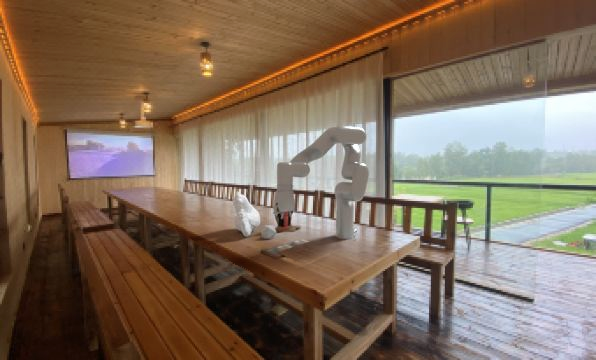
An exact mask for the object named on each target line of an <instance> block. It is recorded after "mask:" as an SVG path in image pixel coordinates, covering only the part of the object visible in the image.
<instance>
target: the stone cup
mask: <svg viewBox="0 0 596 360" xmlns="http://www.w3.org/2000/svg"><path fill="white" fill-rule="evenodd" d="M273 215H274V219H275V221H276V224H277V225H276V227H275V230H276V233H279V232H280V233H284V232H286V233H287V232H288V233H294V232H297V231H299V230H301V228H302V226H298V225H293V224H292V217H293V216H292V217H290V218H291V220H290V226H289V229H286V230H283V229H280V228H279V218H277V216H276V215H275V214H273ZM280 215H281V214H280Z"/></svg>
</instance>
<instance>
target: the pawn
mask: <svg viewBox="0 0 596 360" xmlns="http://www.w3.org/2000/svg"><path fill="white" fill-rule="evenodd" d="M280 214H281V213H280ZM288 214H289V211H287V212H284V214H283V219H284V227H280V226H279V228H280V229H283V230H286V229H289V225H288Z"/></svg>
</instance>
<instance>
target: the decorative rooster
mask: <svg viewBox="0 0 596 360" xmlns="http://www.w3.org/2000/svg"><path fill="white" fill-rule="evenodd" d="M232 204H233V207H234V209H235V214H236V216H235V218H234V222H233V223H234V226H235V228H236V229H237V230H238V231H239V232H241V233H242V234H243V236H244V237H245V238H248V237H250V236H251V235H252V231H254V230H255V229H257V228H258V227H259V226H260V224H261V215H260V213H259V211H258V210H257V209H256V208H255V207H254V206H253V205H251V204H250V201H249V200H248V198H247V196H246V195H244V194H242V193H241V192H239V191H235V194H234V197H233V200H232Z"/></svg>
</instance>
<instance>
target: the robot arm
mask: <svg viewBox="0 0 596 360" xmlns="http://www.w3.org/2000/svg"><path fill="white" fill-rule="evenodd" d="M366 140H367V133H366V130H364V129H363V128H362V127H355V126H347V125H346V126H343V125H342V126H341V125H338V126H332V127H328V128H327V129H326V130H325V131H323V132H322V134H321V135H319V137H317V138H316V139H315V141H313V143H311V144H310V145H308V146H307V147H306V148H304V149H303V150H302V151H300V152H299V153H297V154H296V155H295V156H294V157H293V158H292V159H291V160H290V161H289V162H288V161H287V162H286V161H285V162H283V161H281V162H278V163H277V165H276V191H274V192H275V193H274V198H273V212H272V214H273V215H274V214H275V215H276V216H277V218H279V226H280V227H284V219H283V214H284V212H287V211H289V214H288V225H289V226H290V220H291V221H292V218H290V217H293V216H292V215H293V213H294V212H295V211H296V208H295V194H294V190H293V188H294V179H293V178H306V177H308V176H309V174H310V171H311V168H310V166H309V165H308V164H310V163H311V162H314V161H317V160H319V159H322V158H323V157H325V156H326V154H327V153H328V152H329V151H330V150H331V149H332V148H333V147H334V146H335V145H336V144H341V145H342V147H343V149H344V157H343V162H342V167H341V174H340V175H341V177H342V178H343V179H345V180H349V181H340V182H338V183H337V184H336V186H335V187H334V197H335V203H336V204H335V207H336V209H335V211H336V212H335V234H334V235H333V237H336V238H337V239H341V240H350V241H354V242H355V241H356V240H357V236H356V235H355V233H357V232H358V231H357V229H356V228H355V229H354V217H355V215H354V214H355V213H354V212H355V206H354V202H357V203H358V202H361V201H362V200H363V198H364V197H365V194H366V189H367V184H368V180H369V175H370V172H369V168H368V166H367V165H366V164H365V163H363V162H361V161H360V160H361V156H362V155H361V154H362V153H361V150H360V148H359V146H360V145H362V144H364V143H365V142H366ZM358 145H359V146H358ZM350 181H351V182H350ZM280 213H281V215H280ZM275 215H274V216H275Z"/></svg>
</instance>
